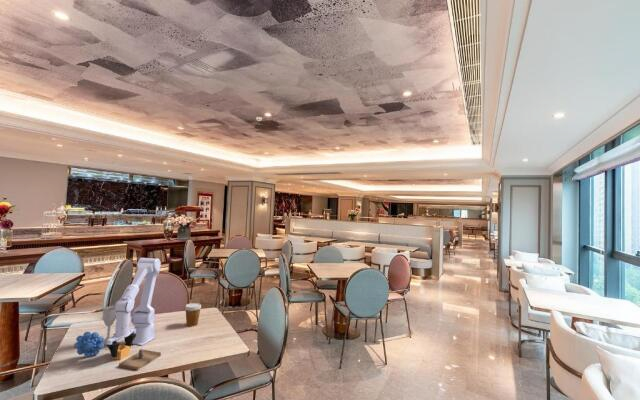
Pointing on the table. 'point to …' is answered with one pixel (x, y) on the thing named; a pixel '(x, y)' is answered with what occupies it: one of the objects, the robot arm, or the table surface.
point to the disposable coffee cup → (192, 313)
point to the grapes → (89, 344)
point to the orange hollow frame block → (122, 352)
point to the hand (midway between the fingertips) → (120, 353)
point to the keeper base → (140, 359)
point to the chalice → (108, 320)
